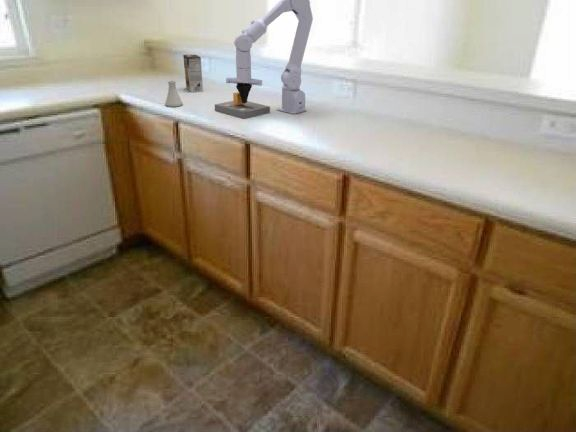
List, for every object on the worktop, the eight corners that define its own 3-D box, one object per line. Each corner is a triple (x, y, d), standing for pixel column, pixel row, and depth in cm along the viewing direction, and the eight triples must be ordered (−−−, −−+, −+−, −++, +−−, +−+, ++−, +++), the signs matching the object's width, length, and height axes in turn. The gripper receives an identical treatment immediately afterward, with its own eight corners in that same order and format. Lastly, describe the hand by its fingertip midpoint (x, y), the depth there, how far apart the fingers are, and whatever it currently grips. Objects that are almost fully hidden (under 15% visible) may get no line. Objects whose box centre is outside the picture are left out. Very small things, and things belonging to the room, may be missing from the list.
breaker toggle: (244, 103, 183) (244, 92, 181) (237, 105, 180) (237, 94, 178) (241, 102, 184) (240, 91, 182) (233, 104, 182) (233, 93, 180)
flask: (161, 106, 189) (159, 81, 185) (173, 102, 195) (170, 79, 190) (175, 108, 186) (172, 83, 182) (186, 104, 192) (184, 80, 187)
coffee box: (185, 89, 221) (182, 54, 214) (198, 88, 224) (196, 54, 216) (190, 92, 214) (187, 57, 207) (203, 91, 216) (201, 56, 209)
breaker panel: (269, 112, 182) (269, 106, 180) (244, 118, 172) (243, 111, 171) (240, 105, 193) (240, 98, 191) (214, 110, 183) (214, 103, 182)
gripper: (264, 67, 175) (264, 101, 181) (230, 64, 179) (231, 99, 185) (258, 69, 169) (259, 105, 175) (223, 67, 173) (224, 102, 179)
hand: (244, 102), depth 180 cm, fingers closed
